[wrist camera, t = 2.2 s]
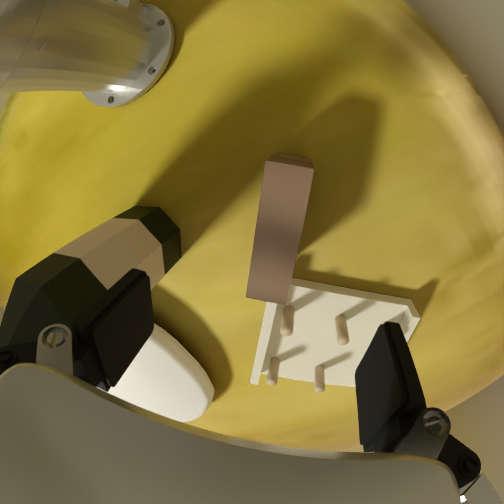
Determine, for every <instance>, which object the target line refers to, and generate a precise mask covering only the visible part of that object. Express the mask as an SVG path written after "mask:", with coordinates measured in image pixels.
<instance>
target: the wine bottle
mask: <svg viewBox="0 0 504 504" xmlns="http://www.w3.org/2000/svg"><path fill="white" fill-rule="evenodd" d="M181 257H182V256H181V243H180V229H179V228H178V227H177V226H176V225H175V224H174V223H173V222H172V220H171V219H170V218H169V217H168V216H167V215H166V214H165V213H164V212H163V211H162V210H161V209H160V207H142V206H134V207H132V208H131V209H129V210H127V211H125V212H123V213H121V214H119V215H117V216H115V217H114V218H112V219H110V220H108V221H106V222H105V223H103V224H101V225H99V226H97V227H96V228H94V229H92V230H90V231H89V232H87V233H85V234H84V235H82V236H80V237H79V238H77V239H75V240H74V241H72V242H70V243H69V244H67V245H65V246H64V247H62V248H61V249H59V250H57V251H56V252H54V253H53V254H51V255H50V256H48V257H47V258H45V259H44V260H42V261H41V262H39V263H38V264H36V265H35V266H33V267H32V268H30V269H29V270H27V271H26V272H25V273H23V274H22V275H20V276H19V277H18V278H16V280H15V283H14V285H13V288H12V291H11V294H10V297H9V300H8V303H7V306H6V309H5V312H4V315H3V319H2V322H1V326H0V349H1V348H2V347H4V346H8V345H14V344H20V343H26V342H32V341H38V337H39V334H40V333H41V331H42V330H43V329H44V328H46V327H48V326H50V325H53V324H63V325H65V326H67V327H68V328H69V329H71V328H72V327H73V324H72V323H73V322H74V321H75V320H76V319H78V318H79V317H80V316H81V315H82V314H83V313H84V312H85V311H86V310H87V309H88V308H89V307H90V306H91V305H92V304H93V303H94V302H95V301H96V300H97V299H98V298H100V297H101V296H102V295H103V294H104V293H105V292H106V291H107V290H108V289H109V288H110V287H112V286H113V285H114V284H115V283H116V282H117V281H118V280H119V279H120V278H122V277H123V276H124V275H125V274H126V273H127V272H128V271H129V270H131V269H132V268H135V269H139V270H143V271H145V272H146V273H147V275H148V276H149V277H150V286H151V290H152V289H153V288H154V287H155V285H156V284H157V283H158V282H159V281H160V280H161V279H162V278H163V277H164V275H165V274H166V273H167V272H168V271H169V270H170V269H171V268H172V267H173V266H174V264H175V263H176V262H177V261H178V260H179V259H180V258H181Z"/></svg>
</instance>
